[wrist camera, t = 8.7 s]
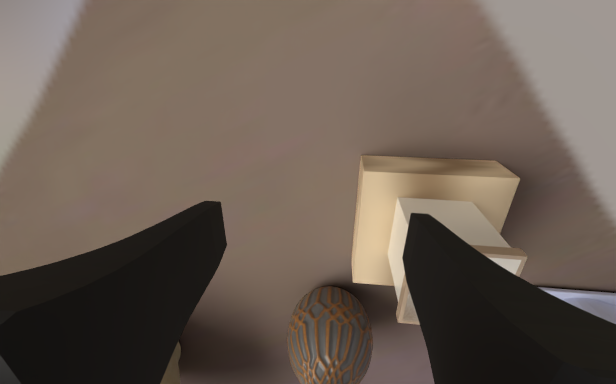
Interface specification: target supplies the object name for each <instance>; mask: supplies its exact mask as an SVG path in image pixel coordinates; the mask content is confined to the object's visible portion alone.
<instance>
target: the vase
mask: <svg viewBox="0 0 616 384" xmlns="http://www.w3.org/2000/svg"><path fill="white" fill-rule="evenodd" d="M372 346H373V340H372V330H371V325H370V321H369V318H368V316H367V313H366V311H365V309H364V307H363V306H362V304H361V303H360V302H359V300H358V299H357V298H356V297H354V296H353V295H352V294H351V293H349V292H348V291H346V290H343V289H341V288H338V287H332V286H327V287H321V288H317V289H315V290H313V291H311V292H309V293H308V294H306V295H305V296H304V297H303V298H302V299H301V300H300V302H299V303H298V304H297V306H296V308H295V310H294V312H293V314H292V316H291V320H290V323H289V328H288V334H287V348H288V355H289V360H290V364H291V366H292V369H293V371H294V373H295V375H296V376H297V378H298V380H299V382H300V383H301V384H359V383H360V382H361V380H362V379H363V377H364V376H365V374H366V372H367V370H368V367H369V364H370V360H371V355H372Z"/></svg>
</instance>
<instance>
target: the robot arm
mask: <svg viewBox="0 0 616 384" xmlns="http://www.w3.org/2000/svg"><path fill="white" fill-rule="evenodd" d="M226 246H227V243H226V236H225V229H224V222H223V215H222V208H221V202H216V201H204V202H201V203H199V204H197V205H194V206H192V207H190V208H188V209H186V210H184V211H182V212H180V213H178V214H176V215H174V216H172V217H170V218H168V219H166V220H164V221H162V222H160V223H158V224H156V225H154V226H152V227H150V228H147V229H145V230H143V231H141V232H139V233H137V234H134V235H132V236H130V237H127V238H125V239H123V240H120V241H118V242H115V243H112V244H110V245H107V246H104V247H102V248H99V249H96V250H93V251H90V252H87V253H84V254H81V255H78V256H74V257H71V258H68V259H65V260H62V261H58V262H55V263H51V264H48V265H44V266H40V267H36V268H33V269H28V270H24V271H20V272H16V273H12V274H7V275H3V276H0V384H160V383H161V381H162V379H163V376H164V374H165V371H166V369H167V366H168V364H169V362H170V359H171V357H172V354H173V352H174V350H175V347H176V345H177V343H178V341H179V338H180V336H181V334H182V332H183V329H184V327H185V325H186V323H187V321H188V320H189V318H190V316H191V314H192V312H193V310H194V309H195V307H196V305H197V304H198V302H199V300H200V298H201V297H202V295H203V293H204V291H205V290H206V288H207V286H208V284H209V283H210V281H211V279H212V277H213V275H214V274H215V272H216V270H217V268H218V266H219V264H220V261H221V259H222V257H223V254H224V251H225V248H226ZM402 259H403V265H404V271H405V277H406V282H407V285H408V288H409V292H410V295H411V298H412V301H413V304H414V307H415V311H416V314H417V317H418V320H419V323H420V326H421V329H422V332H423V336H424V339H425V342H426V346H427V350H428V354H429V359H430V363H431V368H432V373H433V378H434V382H435V384H616V293H607V292H594V291H581V290H568V289H555V288H543V287H536V286H534V285H532V284H530V283H529V282H527V281H525V280H523V279H522V278H520V277H518V276H516V275H515V274H513V273H511V272H510V271H508V270H506V269H505V268H503V267H501V266H500V265H498V264H497V263H495V262H494V261H492V260H491V259H489V258H488V257H486V256H485V255H483V254H482V253H480V252H479V251H478V250H476V249H475V248H473V247H472V246H471V245H469V244H468V243H466V242H465V241H464V240H462V239H461V238H460V237H459V236H457V235H456V234H455V233H453V232H452V231H451V230H449V229H448V228H447V227H446V226H444V225H443V224H442V223H440V222H439V221H438V220H437V219H435V218H434V217H432V216H431V215H429V214H423V213H411V215H410V220H409V225H408V231H407V236H406V241H405V246H404V251H403V257H402Z"/></svg>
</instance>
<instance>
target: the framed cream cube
mask: <svg viewBox="0 0 616 384" xmlns="http://www.w3.org/2000/svg"><path fill="white" fill-rule="evenodd" d="M411 213H423V214H429V215H431V216H432V217H434V218H435V219H437V220H438V221H439V222H440V223H442V224H443V225H444V226H446V227H447V228H448V229H449V230H451V231H452V232H453V233H455V234H456V235H457V236H459V237H460V238H461V239H462V240H464V241H465V242H466V243H468V244H469V245H471V246H472V247H473V248H475V249H476V250H478V251H479V252H480V253H482V254H483V255H485V256H486V257H488V258H489V259H491V260H492V261H494V262H495V263H497V264H498V265H500V266H501V267H503V268H505V269H506V270H508V271H510V272H511V273H513V274H515V275H516V276H518V277H519V276H520V274H521V271H522V269H523V267H524V265H525V262H526V260H527V258H528V256H527V255H526V254H525V253H524V252H523V251H522V250H521V248H511V247H510V246H509V245H508V243H507V242H506V241H505V240H504V239H503V237H502V236H501V235H500V234H499V233H498V232H497V230H496V229H495V228H494V227H493V226H492V225H491V223H490V222H489V221H488V220H487V219H486V217H485V216H484V215H483V214H482V213H481V212H480V210H479V209H478V208H477V207H476V206H475V205H474V203H473V202H469V201H452V200H435V199H419V198H402V197H397V203H396V209H395V214H394V220H393V226H392V232H391V238H390V243H389V249H388V258H389V263H390V267H391V272H392V276H393V281H394V285H395V290H396V294H397V299H398V306H397V311H396V316H397V321H398V323H408V324H418V325H420V323H419V320H418V317H417V314H416V311H415V307H414V304H413V301H412V298H411V295H410V292H409V288H408V285H407V282H406V277H405V271H404V265H403V259H402V257H403V251H404V246H405V241H406V236H407V231H408V225H409V220H410V215H411Z"/></svg>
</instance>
